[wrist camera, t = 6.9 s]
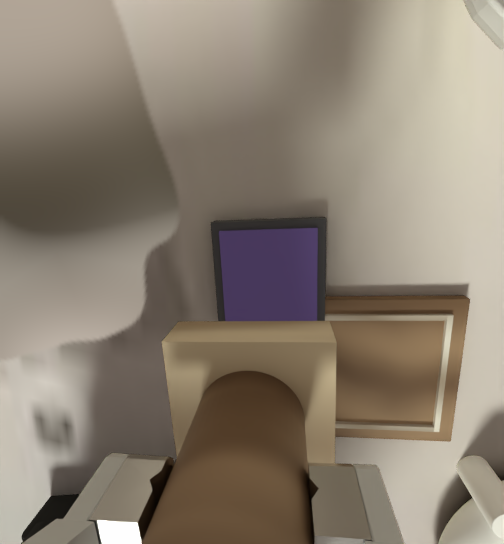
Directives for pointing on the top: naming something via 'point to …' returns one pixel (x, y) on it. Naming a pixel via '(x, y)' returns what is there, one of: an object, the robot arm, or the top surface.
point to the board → (397, 364)
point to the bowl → (488, 18)
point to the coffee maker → (49, 514)
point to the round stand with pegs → (477, 506)
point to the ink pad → (270, 269)
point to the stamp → (246, 430)
